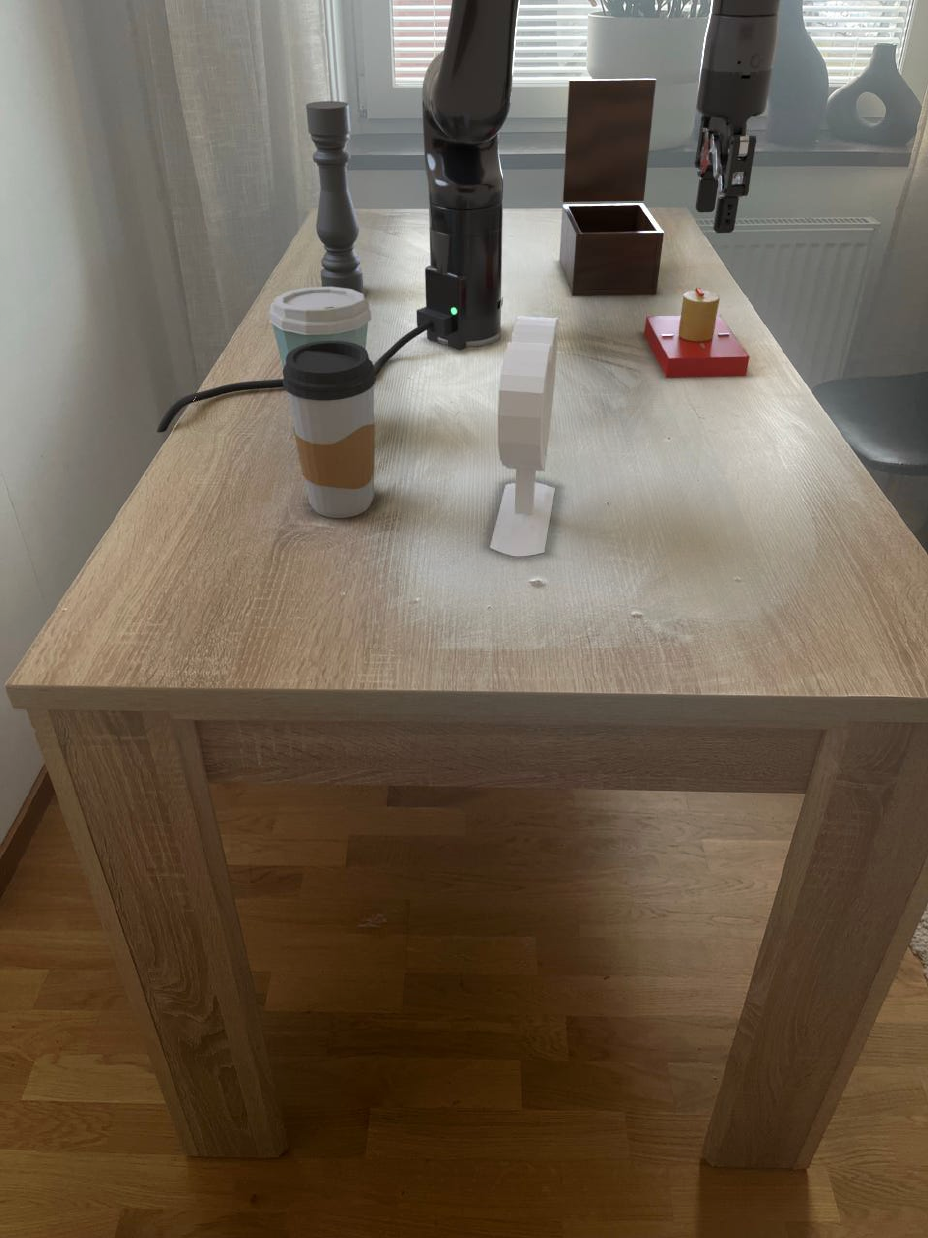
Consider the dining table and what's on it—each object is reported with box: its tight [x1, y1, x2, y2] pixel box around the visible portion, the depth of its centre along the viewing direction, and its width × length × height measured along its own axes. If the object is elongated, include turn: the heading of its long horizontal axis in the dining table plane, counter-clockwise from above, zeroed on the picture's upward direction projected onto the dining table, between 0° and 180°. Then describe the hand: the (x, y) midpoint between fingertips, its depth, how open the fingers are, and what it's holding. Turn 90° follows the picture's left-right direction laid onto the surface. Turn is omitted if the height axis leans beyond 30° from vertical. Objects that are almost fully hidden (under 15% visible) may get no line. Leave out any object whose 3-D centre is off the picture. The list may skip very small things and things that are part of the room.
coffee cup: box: [282, 341, 377, 519], centre depth 86 cm, size 8×8×15 cm
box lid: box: [562, 78, 657, 203], centre depth 140 cm, size 16×13×5 cm
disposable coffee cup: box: [268, 286, 372, 369], centre depth 99 cm, size 11×11×15 cm
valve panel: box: [643, 314, 751, 378], centre depth 118 cm, size 14×10×3 cm
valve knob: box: [678, 287, 721, 342], centre depth 116 cm, size 4×4×5 cm
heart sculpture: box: [489, 315, 559, 558], centre depth 83 cm, size 16×5×18 cm, turn 171°
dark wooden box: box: [558, 203, 665, 297], centre depth 140 cm, size 16×13×9 cm
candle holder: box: [305, 100, 365, 295], centre depth 130 cm, size 6×6×25 cm
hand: (713, 221), depth 109 cm, fingers open, 8 cm apart
